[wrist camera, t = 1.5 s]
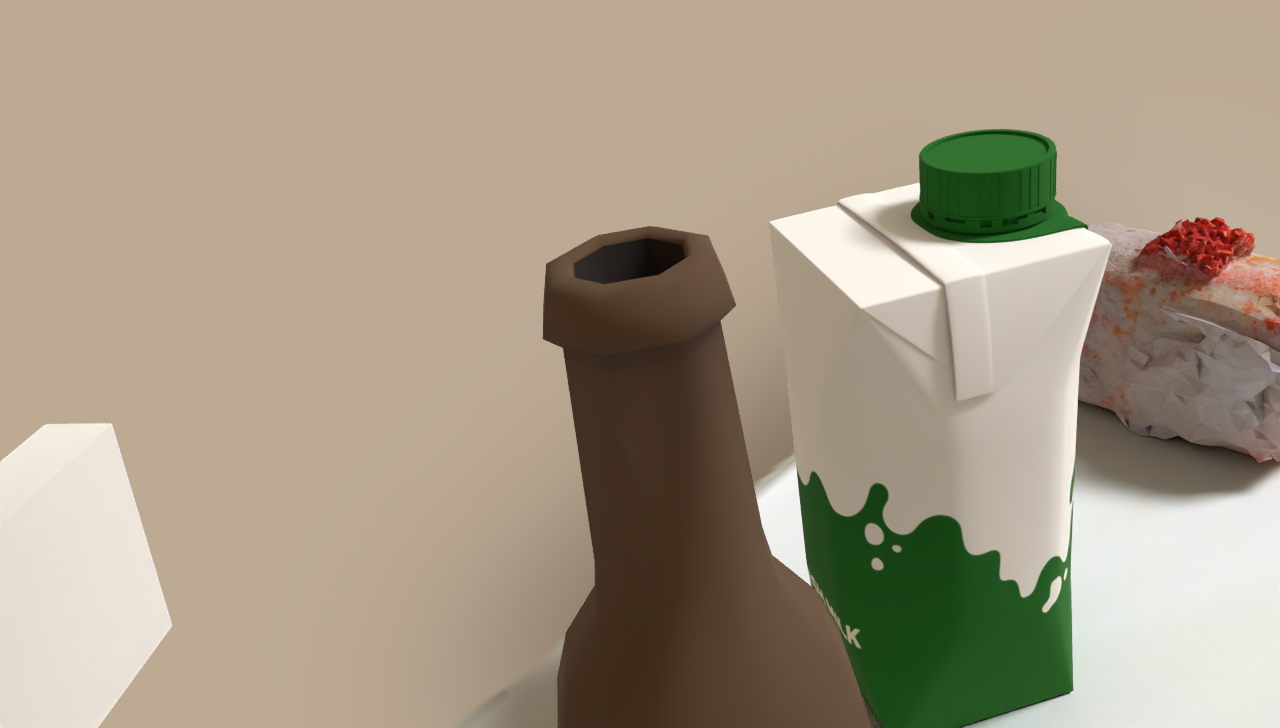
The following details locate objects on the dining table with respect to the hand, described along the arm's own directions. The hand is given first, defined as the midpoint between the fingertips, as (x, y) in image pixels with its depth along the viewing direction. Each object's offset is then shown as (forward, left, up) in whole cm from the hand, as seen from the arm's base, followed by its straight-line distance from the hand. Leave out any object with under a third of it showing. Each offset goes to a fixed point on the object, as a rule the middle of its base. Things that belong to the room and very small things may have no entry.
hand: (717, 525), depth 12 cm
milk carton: (-20, -11, -25) cm, 34 cm away
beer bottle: (-5, -7, -25) cm, 26 cm away
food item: (-42, -11, -25) cm, 50 cm away
